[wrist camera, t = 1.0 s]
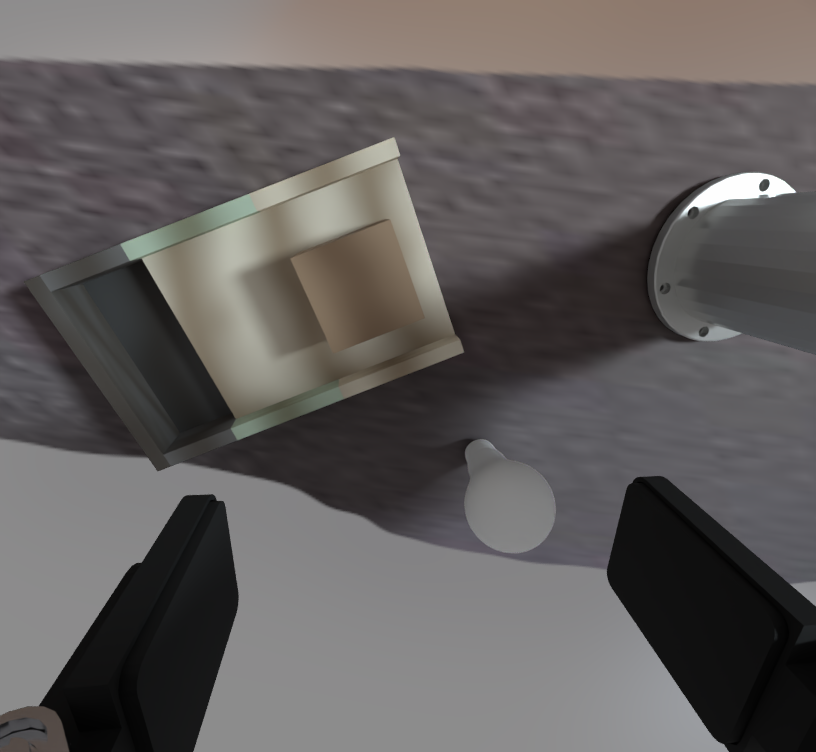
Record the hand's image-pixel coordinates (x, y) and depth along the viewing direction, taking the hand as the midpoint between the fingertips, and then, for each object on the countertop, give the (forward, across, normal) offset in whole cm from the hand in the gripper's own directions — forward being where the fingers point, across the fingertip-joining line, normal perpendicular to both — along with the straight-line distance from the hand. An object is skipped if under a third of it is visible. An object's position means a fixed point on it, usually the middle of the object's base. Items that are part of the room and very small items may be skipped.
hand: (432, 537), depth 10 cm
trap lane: (+23, +8, 0) cm, 25 cm away
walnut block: (+21, +2, -3) cm, 22 cm away
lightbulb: (+24, -8, +12) cm, 28 cm away
